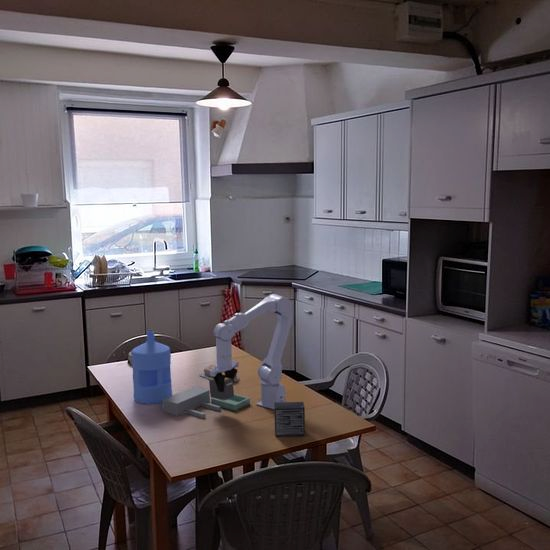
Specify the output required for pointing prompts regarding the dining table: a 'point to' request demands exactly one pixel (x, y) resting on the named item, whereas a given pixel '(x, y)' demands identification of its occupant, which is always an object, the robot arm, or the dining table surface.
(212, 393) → the grey block orange panel
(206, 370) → the packaged product
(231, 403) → the tray
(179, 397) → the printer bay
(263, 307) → the robot arm
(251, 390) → the dining table surface
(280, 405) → the small box
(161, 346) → the water jug
